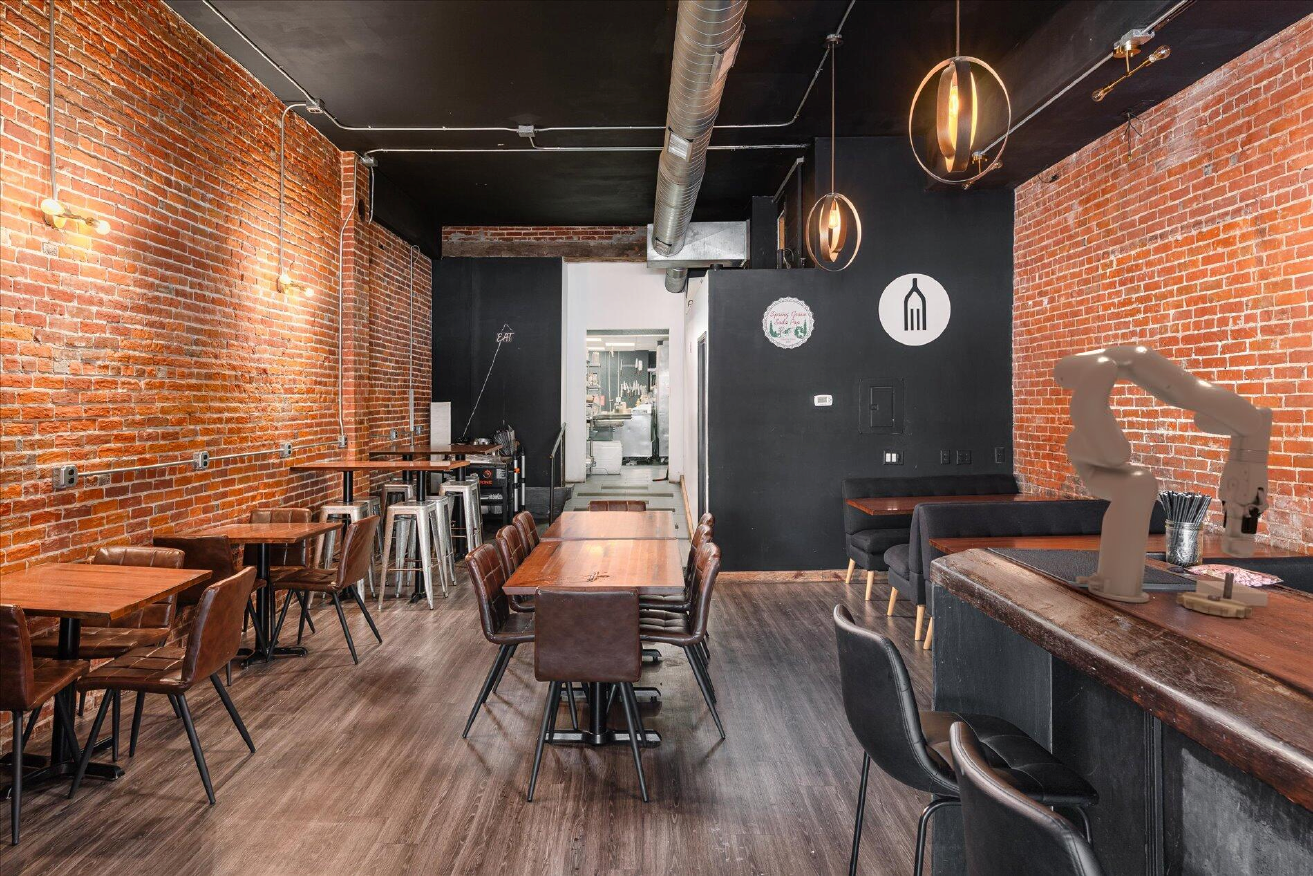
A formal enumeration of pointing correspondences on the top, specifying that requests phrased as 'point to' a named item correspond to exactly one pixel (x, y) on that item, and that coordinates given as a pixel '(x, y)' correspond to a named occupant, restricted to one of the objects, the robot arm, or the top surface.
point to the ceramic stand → (1234, 592)
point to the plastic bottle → (1236, 530)
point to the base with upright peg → (1216, 601)
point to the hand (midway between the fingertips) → (1239, 530)
